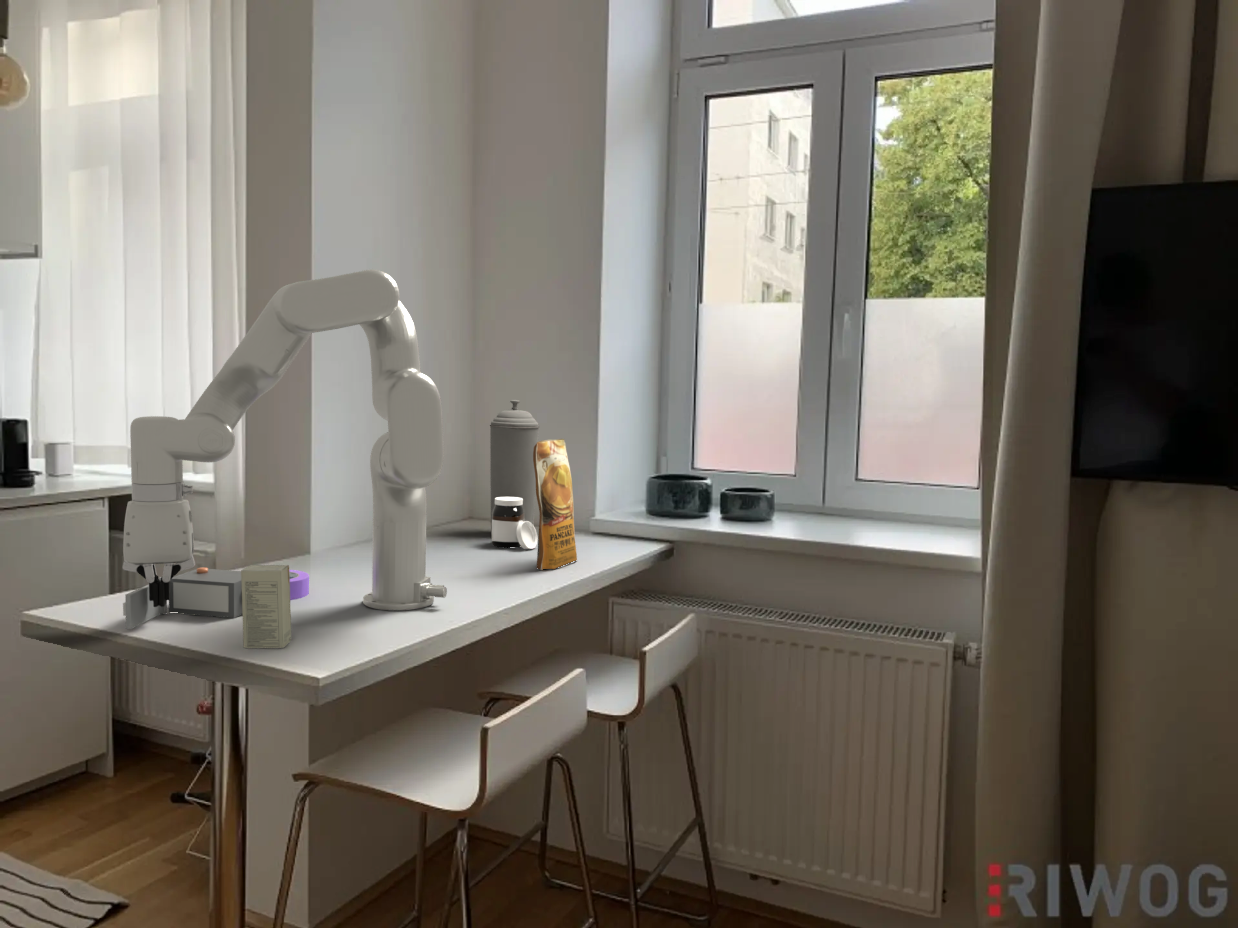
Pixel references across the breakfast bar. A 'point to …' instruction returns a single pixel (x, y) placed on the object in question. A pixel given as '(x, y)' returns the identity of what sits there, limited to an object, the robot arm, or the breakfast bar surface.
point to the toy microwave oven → (207, 593)
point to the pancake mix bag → (554, 505)
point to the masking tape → (298, 584)
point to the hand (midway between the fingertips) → (160, 604)
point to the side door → (140, 607)
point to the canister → (513, 458)
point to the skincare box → (266, 606)
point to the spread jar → (511, 525)
